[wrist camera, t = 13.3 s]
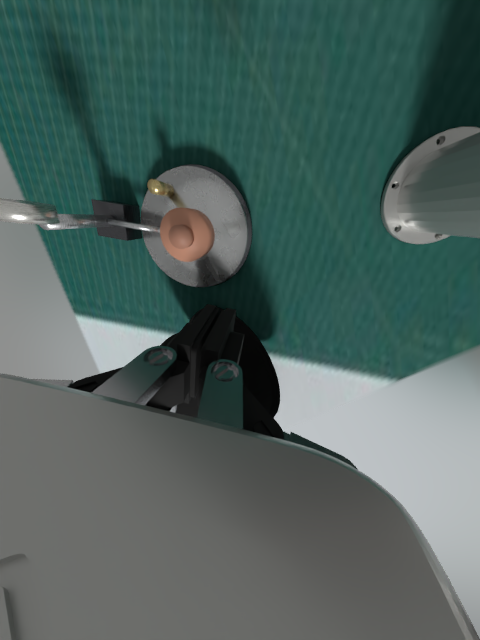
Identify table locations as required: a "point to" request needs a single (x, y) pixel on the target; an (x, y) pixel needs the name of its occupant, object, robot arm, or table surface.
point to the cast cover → (187, 234)
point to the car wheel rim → (245, 371)
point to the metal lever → (79, 218)
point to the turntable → (211, 199)
